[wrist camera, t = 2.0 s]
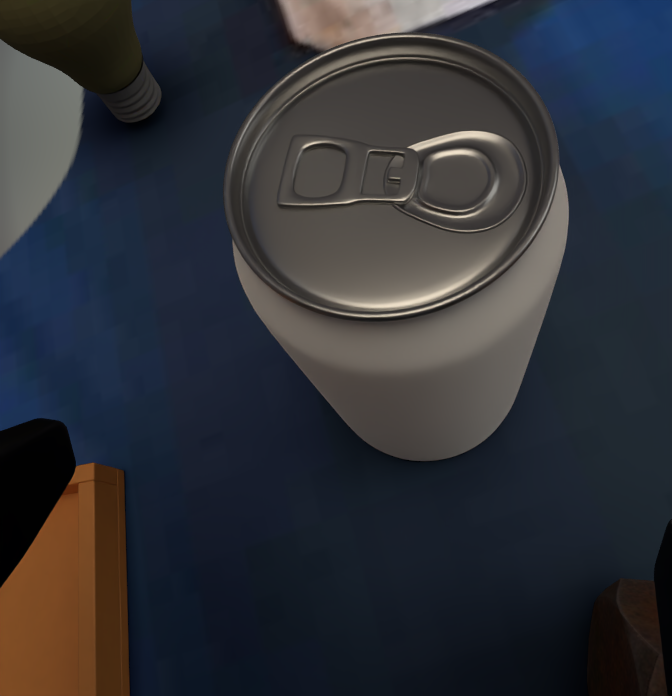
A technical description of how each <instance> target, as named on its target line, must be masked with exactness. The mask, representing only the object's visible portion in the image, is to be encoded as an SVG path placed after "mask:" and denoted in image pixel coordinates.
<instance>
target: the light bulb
mask: <svg viewBox="0 0 672 696" xmlns="http://www.w3.org/2000/svg"><path fill="white" fill-rule="evenodd" d="M0 39H1V40H3V41H4V42H5V43H7V44H8V45H10V46H11V47H13V48H14V49H16V50H18V51H20V52H21V53H23V54H25V55H27V56H29V57H31V58H33V59H36V60H38V61H41V62H43V63H45V64H47V65H50V66H52V67H54V68H56V69H58V70H60V71H62V72H63V73H65V74H66V75H68V76H69V77H71V78H72V79H73V80H74V81H75V82H77V83H78V84H79V85H80V86H82V87H83V88H85V89H87V90H89V91H92V92H95V93H96V94H97V95H98V96H99V97H100V98H101V99H102V101H103V102H104V103H105V104H106V106H107V107H108V108H109V109H110V111H111V112H112V114H113V115H114V116H115V117H116V118H117V119H119V120H120V121H123V122H130V123H131V122H137V121H140V120H143V119H146V118H148V117H150V115H151V114H152V113H153V112H154V111H155V109H156V108H157V107H158V105H159V103H160V100H161V89H160V87H159V85H158V84H157V82H156V81H155V79H154V78H153V76H152V74H151V73H150V72H149V70H148V68H147V66H146V65H145V63H144V61H143V55H142V53H141V47H140V43H139V40H138V38H137V35H136V33H135V29H134V25H133V20H132V10H131V0H0Z"/></svg>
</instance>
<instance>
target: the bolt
mask: <svg viewBox="0 0 672 696" xmlns="http://www.w3.org/2000/svg"><path fill="white" fill-rule="evenodd" d="M587 685H588V693H589V696H668V693H667V686H666V679H665V670H664V662H663V653H662V645H661V636H660V627H659V619H658V610H657V602H656V593H655V584H654V581H647V580H635V579H623V578H621V579H619V580H618V581H616V582H615V583H613V584H612V585H611V586H609V587H608V588H606V589H605V590H604V591H603V592H602V593H601V594H600V595H599V596H598V597H597V599H596V601H595V603H594V607H593V613H592V620H591V627H590V633H589V646H588V664H587Z"/></svg>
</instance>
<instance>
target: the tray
mask: <svg viewBox="0 0 672 696" xmlns="http://www.w3.org/2000/svg"><path fill="white" fill-rule="evenodd" d="M0 696H130V688H129V649H128V610H127V571H126V532H125V492H124V471H123V470H120V469H116V468H112V467H108V466H104V465H101V464H97V463H89V464H84V465H79V466H76V468H75V472H74V475H73V477H72V479H71V481H70V482H69V484H68V486H67V487H66V489H65V491H64V492H63V494H62V495H61V497H60V499H59V500H58V502H57V504H56V505H55V507H54V508H53V510H52V512H51V513H50V515H49V517H48V518H47V520H46V522H45V523H44V525H43V526H42V528H41V530H40V531H39V533H38V535H37V536H36V538H35V540H34V541H33V543H32V544H31V546H30V547H29V549H28V551H27V552H26V554H25V555H24V557H23V558H22V560H21V561H20V562H19V564H18V565H17V567H16V568H15V569H14V571H13V572H12V573H11V575H10V576H9V577H8V579H7V580H6V581H5V583H4V584H3V585H2V587H1V588H0Z"/></svg>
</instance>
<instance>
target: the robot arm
mask: <svg viewBox="0 0 672 696" xmlns="http://www.w3.org/2000/svg"><path fill="white" fill-rule="evenodd" d="M75 468H76V461H75V457H74V453H73V449H72V445H71V441H70V437H69V434H68V430H67V427H66V426H65V425H64V423H62V422H60V421H57V420H51V419H45V418H37V419H34V420H31V421H28V422H25V423H22V424H19V425H17V426H14V427H11V428H8V429H5V430H2V431H0V588H1V587H2V585H3V584H4V583H5V581H6V580H7V579H8V577H9V576H10V575H11V573H12V572H13V571H14V569H15V568H16V567H17V565H18V564H19V562H20V561H21V560H22V558H23V557H24V555H25V554H26V552H27V551H28V549H29V547H30V546H31V544H32V543H33V541H34V540H35V538H36V536H37V535H38V533H39V531H40V530H41V528H42V526H43V525H44V523H45V522H46V520H47V518H48V517H49V515H50V513H51V512H52V510H53V508H54V507H55V505H56V504H57V502H58V500H59V499H60V497H61V495H62V494H63V492H64V491H65V489H66V487H67V486H68V484H69V482H70V481H71V479H72V477H73V475H74V472H75ZM654 584H655V593H656V602H657V610H658V619H659V627H660V636H661V645H662V653H663V662H664V670H665V679H666V686H667V693H668V696H672V519H671V520H670V521H669V523H668V525H667V527H666V530H665V534H664V537H663V540H662V543H661V546H660V550H659V553H658V556H657V559H656V563H655V568H654Z"/></svg>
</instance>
